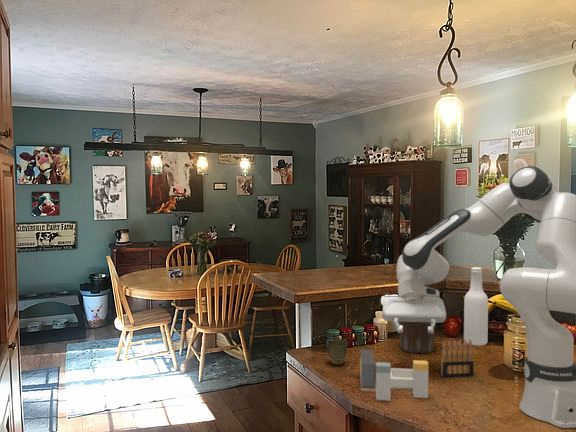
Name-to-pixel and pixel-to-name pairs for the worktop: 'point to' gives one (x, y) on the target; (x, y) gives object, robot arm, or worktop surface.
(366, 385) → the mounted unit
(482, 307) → the white bottle
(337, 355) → the cup
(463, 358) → the ammunition clip
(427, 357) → the worktop surface
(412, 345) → the plant pot
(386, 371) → the block
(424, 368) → the block
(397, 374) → the parts tray
